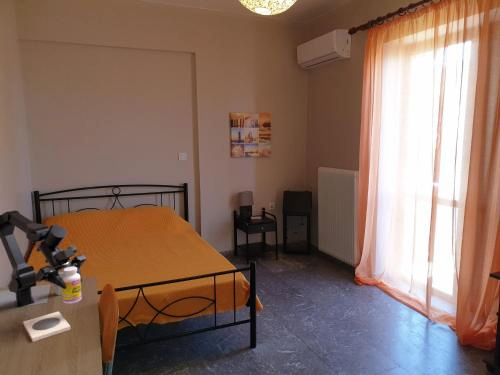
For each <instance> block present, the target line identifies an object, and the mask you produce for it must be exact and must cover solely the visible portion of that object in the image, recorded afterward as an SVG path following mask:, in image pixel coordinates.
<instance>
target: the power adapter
mask: <svg viewBox="0 0 500 375" xmlns="http://www.w3.org/2000/svg"><path fill="white" fill-rule="evenodd" d="M58 273H59V276H60V277H61V278H62V276H63V275H64V273H63V271H61V270H60V271H58ZM55 294H56V296H57V295H59V296H62V288H61V287H59V286H58V285H56V284H55Z"/></svg>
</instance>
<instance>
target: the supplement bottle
mask: <svg viewBox="0 0 500 375" xmlns="http://www.w3.org/2000/svg"><path fill="white" fill-rule="evenodd" d="M62 272H63V273H64V275H63V276H62V278H61V279H62V280H63V282H64V283H65V285H66V289H63V288H62V295H61V297H62V298H61V299H62V302H63V304H67V305H72V304H75V303H78V302H80V301H82V298H83V296H82V284H81V283H82V282H81V279H80V275H79V274H78V273H77V267H67V268H65V269H62Z"/></svg>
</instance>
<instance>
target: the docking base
mask: <svg viewBox="0 0 500 375" xmlns="http://www.w3.org/2000/svg"><path fill="white" fill-rule="evenodd" d="M23 326H24V328H25V330H26V332H27V334H28V335H29V338H30V339H31V341H32V343H33V342H37V341H39V340H43V339H45V338H48V337H52V336H54V335H55V336H56V335H58V334H60V333H64V332H67V331H70V330H71V329H72V328H71V325H70V324H69V323H68V321H67V320H66V319H65V317H64V316H63V315H62V313H61V312H60V311H55V312H52V313H48V314H44V315H42V316H38V317H35V318H31V319H28V320H24V321H23Z"/></svg>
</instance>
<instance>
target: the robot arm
mask: <svg viewBox="0 0 500 375" xmlns="http://www.w3.org/2000/svg"><path fill="white" fill-rule="evenodd" d="M15 228H17V229H19V230H20V231H22V232H24V234H25V236H26V239H27V240H29V242H30V243H32V244H36V243H39V244H37V248H36V252H37V253H39V252H41V254H42V255H43V256H44V257H45V260H44V262H45V263H46V264H49V265H45V266H43V267H40V268H39V269H38V271H37V272H36V271H35V267H34V266H33V265H28V264H27V263H26V260H25V257H24V256H23V253H22V250H21V248H20V246H19V243H18V241H17V238H16V236H15V234H14V233H15V232H14V231H15ZM66 236H68V232H67V229H66V228H64V227H62V226H59V225H57V224H56V223H54V224H51V225H50V227H49V226H47V225H45V224H43V223H35V222H34V221H32V220H31V219H29V218H27V217H26V216H25V215H23V214H21V213H20V212H19V211H18V210H8V211H5V212H3V213H2V214H0V240H1V243H2V245H3V247H4V248H3V249H4V250H5V253H6V255H7V257H8V260H9V262H10V264H11V268H12V273H11V282H10V283H9V285H8V290H9V292H11V293H14V294H15V300H14V301H13V302H14V305H15V306H16V308H18V307H22V306H25V305H29V304H33V303H35V299H34V298H33V295H32V288H33V287H36V286H37V283H40V282H42V281H44V282H45V283H46V282H48V283H51V284H53V285H55V286H56V285H58V286H59V287H61V288H63V289H66V285H65V283H64V282H63V280H62V279H61V277H60V276H59V271H60V272H61V271H63V269H65V268H67V267H77V273H78V274H79V275H80V279H81V283H82V282H83V278H82V277H83V276H82V274H81V267H82V266H83V264H84V263H85V262H86V261H87V257H86V255H84V254H82V253H81V254H79V255H77V256H76V255H75V254H76V253H78V248H77V247H76V246H75V245H73V244H72V245H70V246H68V247H67V248H66V249H61V248H60V247H58V246H60V245H61V244H62V242H63V241H64V239H65V238H66ZM71 257H73V258H72V259H71Z"/></svg>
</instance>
